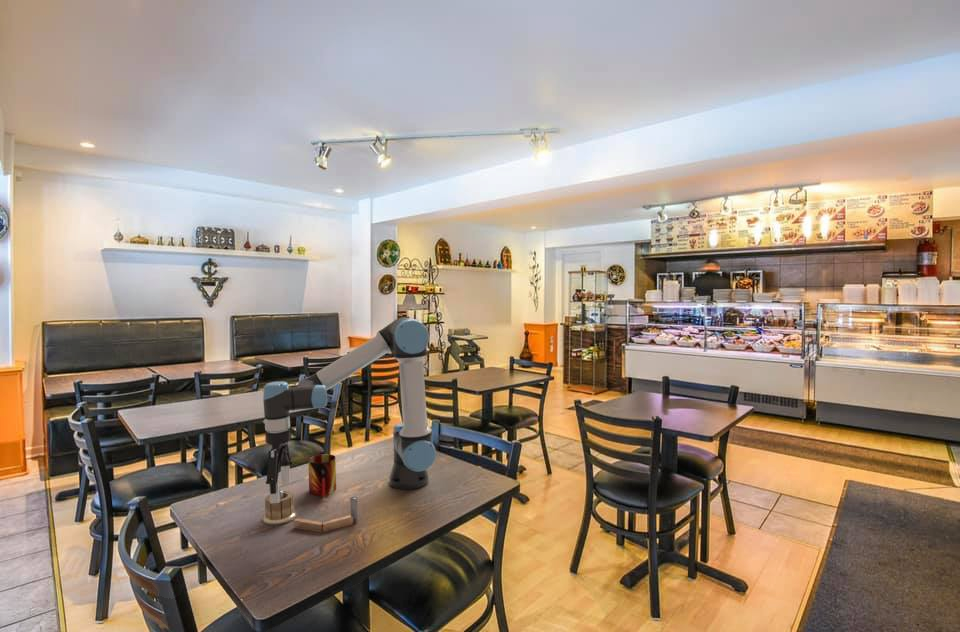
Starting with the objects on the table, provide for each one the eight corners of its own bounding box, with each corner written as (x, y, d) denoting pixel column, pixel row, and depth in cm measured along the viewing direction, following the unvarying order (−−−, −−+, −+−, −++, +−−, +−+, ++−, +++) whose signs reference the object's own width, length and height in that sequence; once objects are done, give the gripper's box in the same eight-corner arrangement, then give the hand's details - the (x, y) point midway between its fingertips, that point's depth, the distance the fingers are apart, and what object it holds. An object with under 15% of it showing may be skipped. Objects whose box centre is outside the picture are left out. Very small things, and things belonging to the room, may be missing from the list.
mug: (323, 501, 167) (322, 468, 167) (304, 490, 177) (303, 459, 176) (347, 492, 175) (346, 461, 174) (327, 482, 184) (327, 452, 183)
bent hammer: (357, 520, 153) (357, 496, 153) (355, 529, 147) (355, 504, 147) (295, 525, 150) (294, 500, 150) (290, 534, 145) (289, 509, 144)
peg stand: (299, 509, 161) (298, 483, 161) (292, 524, 151) (291, 496, 151) (268, 511, 160) (267, 485, 159) (259, 526, 150) (258, 498, 149)
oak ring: (295, 507, 160) (294, 490, 160) (289, 519, 152) (288, 500, 152) (270, 509, 159) (270, 492, 158) (263, 521, 151) (262, 502, 151)
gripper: (276, 419, 166) (279, 479, 167) (252, 442, 141) (256, 512, 142) (298, 418, 167) (301, 477, 168) (279, 441, 142) (282, 509, 143)
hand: (280, 493), depth 155 cm, fingers open, 13 cm apart
